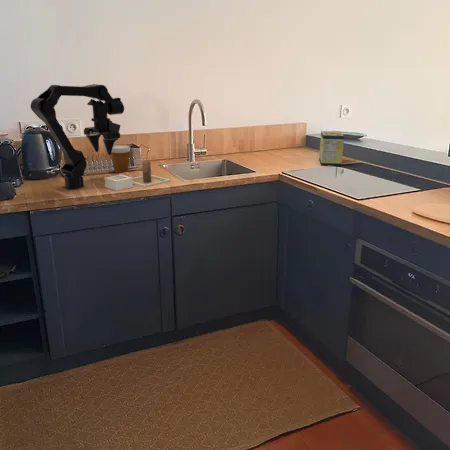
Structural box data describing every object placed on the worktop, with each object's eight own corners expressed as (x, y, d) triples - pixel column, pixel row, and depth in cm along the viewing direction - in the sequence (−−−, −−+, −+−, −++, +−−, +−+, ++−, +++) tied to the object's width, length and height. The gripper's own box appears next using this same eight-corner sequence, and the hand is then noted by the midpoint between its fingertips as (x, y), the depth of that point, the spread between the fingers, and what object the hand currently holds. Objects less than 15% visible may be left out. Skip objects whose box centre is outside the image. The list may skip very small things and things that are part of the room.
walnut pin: (146, 183, 203) (145, 162, 200) (141, 182, 205) (140, 161, 202) (153, 182, 205) (152, 161, 202) (147, 180, 207) (146, 160, 205)
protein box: (338, 160, 256) (340, 131, 250) (341, 166, 241) (344, 136, 236) (318, 159, 257) (320, 130, 251) (320, 166, 242) (323, 135, 237)
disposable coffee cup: (127, 174, 220) (125, 149, 216) (107, 173, 222) (105, 148, 218) (134, 170, 229) (133, 145, 225) (116, 169, 231) (114, 144, 227)
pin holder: (116, 193, 191) (116, 181, 189) (105, 189, 196) (104, 177, 194) (133, 189, 197) (132, 177, 195) (121, 185, 202) (120, 174, 200)
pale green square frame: (144, 189, 196) (144, 185, 195) (124, 183, 205) (124, 179, 204) (170, 183, 206) (170, 179, 205) (150, 178, 215) (149, 174, 214)
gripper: (129, 116, 196) (131, 153, 201) (104, 112, 208) (106, 147, 213) (106, 118, 188) (109, 157, 194) (81, 114, 200) (84, 151, 205)
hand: (103, 153), depth 202 cm, fingers open, 9 cm apart
